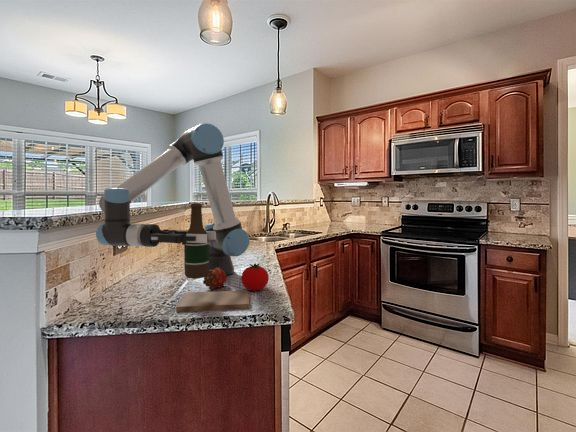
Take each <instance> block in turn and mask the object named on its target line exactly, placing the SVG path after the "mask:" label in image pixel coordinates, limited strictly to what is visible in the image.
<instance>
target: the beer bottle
mask: <svg viewBox="0 0 576 432" xmlns="http://www.w3.org/2000/svg"><path fill="white" fill-rule="evenodd" d="M189 208H191V209H190V225H189V227H188V231H187V233H186V234H207V233H206V231H205V230H204V229H205V227H204V225H203V213H202V208H203V204H202V203H201V202H196V203H195V202H193V203H190V206H189ZM183 246H184V249H183V250H184V253H183V254H184V256H183V257H184V264H183V265H184V276H185V277H186V278H187V279H204V277H206V276H208V273H209V240H208V235H207V243H186V245H183Z"/></svg>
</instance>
